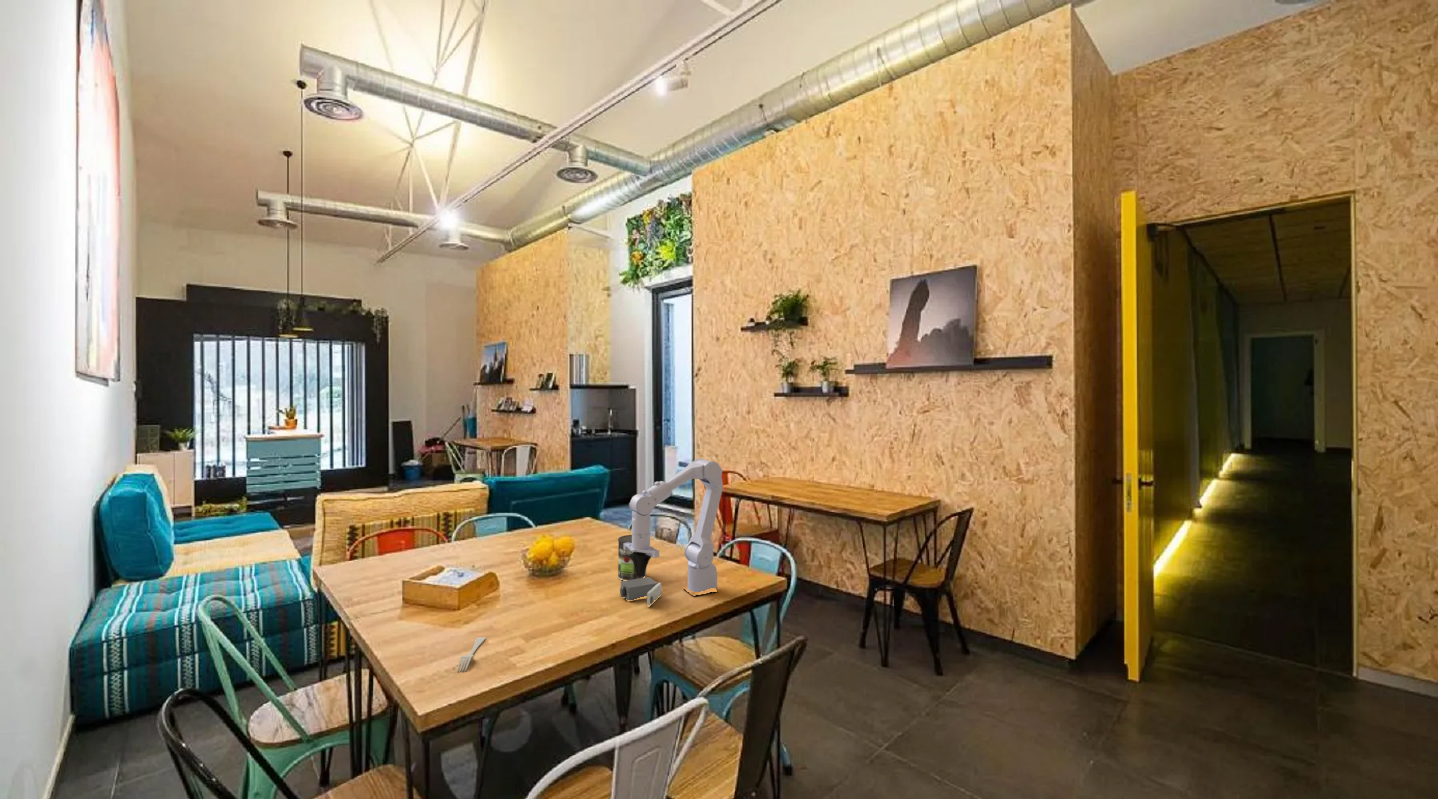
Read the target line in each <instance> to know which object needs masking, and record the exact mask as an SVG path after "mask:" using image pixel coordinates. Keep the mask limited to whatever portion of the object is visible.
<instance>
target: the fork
mask: <svg viewBox="0 0 1438 799" xmlns="http://www.w3.org/2000/svg"><path fill="white" fill-rule="evenodd" d="M485 640H487V636H483V637H482V636H481V637H479V636H478V637H477V638H476V639H475V640H474V644H473V646H472V648H471V651H470V653H469V654H463V655H461V656H460V658H459V662H458V666H457V670H456V672H457V671H458V672H460V671H461V672H462V671H463V670H464V671H463V672H465V671H466V672H467V670H468V667H469V665H470V662H471V660H472V658H473V656H475V654H474V653H475V652H476V651H477V650H478V648H479V647H480V646H481V645H482V644H483V642H484V641H485Z"/></svg>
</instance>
